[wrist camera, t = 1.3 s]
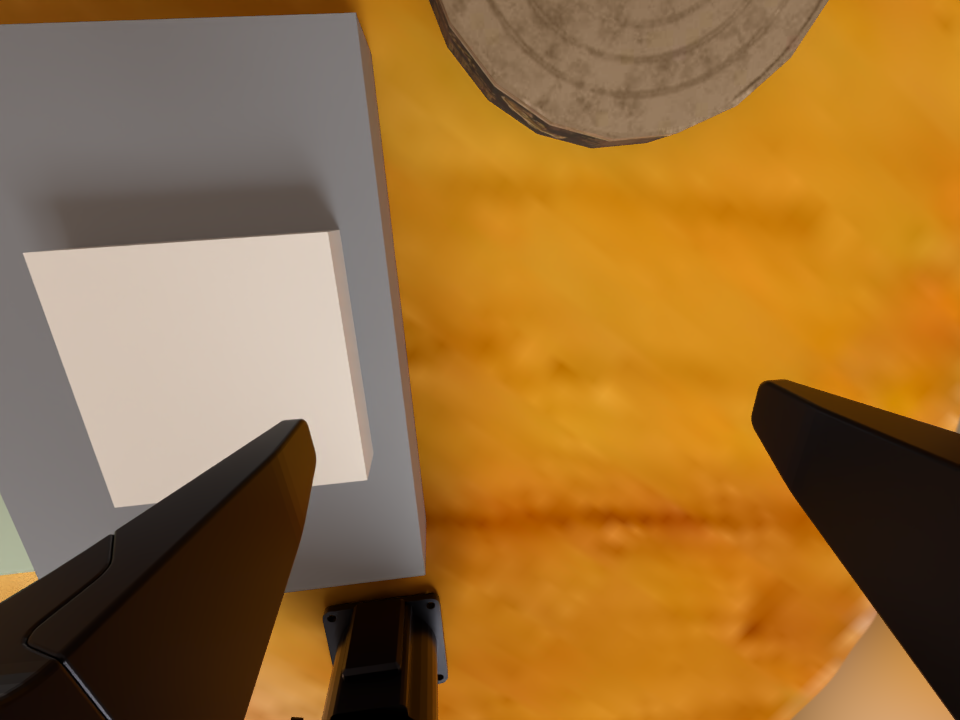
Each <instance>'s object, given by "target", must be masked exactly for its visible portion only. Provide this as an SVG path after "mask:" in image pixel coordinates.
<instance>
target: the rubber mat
mask: <svg viewBox="0 0 960 720" xmlns="http://www.w3.org/2000/svg"><path fill="white" fill-rule="evenodd" d="M32 571H35V570H34V568H33V566H32V564H31V561H30V559H29V557H28V555H27V552H26V550H25V548H24V546H23V543H22V541H21V539H20V537H19V534H18V532H17V530H16V528H15V525H14V523H13V521H12V519H11V516H10V514H9V512H8V510H7V508H6V505H5V503H4V501H3V499H2V496H1V494H0V575H7V574H15V573H24V572H32Z"/></svg>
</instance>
